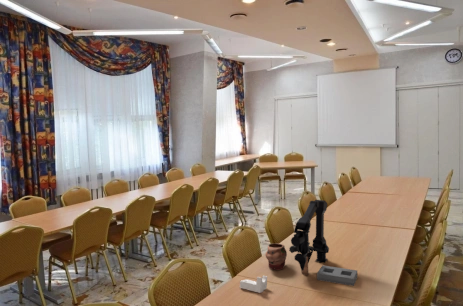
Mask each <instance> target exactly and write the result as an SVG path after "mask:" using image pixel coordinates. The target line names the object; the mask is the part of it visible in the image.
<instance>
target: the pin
mask: <svg viewBox="0 0 463 306" xmlns="http://www.w3.org/2000/svg"><path fill="white" fill-rule="evenodd" d="M300 271H301V275H303V276H306V275H309V263H308V257H307V261H306V264H305V267H304V270H301V269H300Z"/></svg>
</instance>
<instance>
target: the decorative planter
mask: <svg viewBox="0 0 463 306" xmlns="http://www.w3.org/2000/svg"><path fill="white" fill-rule="evenodd" d="M287 253H288V252H287V250H286V247H285V245H284V244H281V243H276V242H275V243H270V244H268V245H267V251H266V252H265V258H266V259H267V261H268V268H269V269H270V270H274V271H279V270H280V271H281V270H283V269H284V268H285V267H286V266H285V265H286V259H287V255H288V254H287Z"/></svg>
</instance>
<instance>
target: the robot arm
mask: <svg viewBox="0 0 463 306" xmlns="http://www.w3.org/2000/svg"><path fill="white" fill-rule="evenodd" d="M327 209H328V202H327V201H326V200H323V199H315V200H310V201H309V205H308V207H307V209H306V211H305V212H304V214H303V215H302V216H301V217H300V218H299V219H298V220H297V221H296V222H295V223H296V224H295V227H294V230H293V233H294V234H293V236H292V237H291V238H290V243H291V246H290V247H289V252H290V253H291V254H293V253H295V252H296V254H295V255H294V261H297V262H298V264H299V267H300V271H301V270H304V267H305V264H306V261H307V257H308V264H309V262H310V260H311V257H312V255H313V253H314V252H316V259H315V261H314V262H317V263H322V264H323V263H326V262H327V261H328V258H327V254H328V253H329V250H330V247H329V246H328V244H327V240H326V238H325V236H324V235H325V232H324V229H325V228H324V227H325V223H324V222H325V221H324V220H325V213H326V211H327ZM314 214H315V237H314V238H313V239H312V245H310V244H311V243H310V242H309V241H310V240H309V233H310V230H311V226H312V224H311V220H312V218H313V217H314Z"/></svg>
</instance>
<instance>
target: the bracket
mask: <svg viewBox="0 0 463 306" xmlns="http://www.w3.org/2000/svg"><path fill="white" fill-rule="evenodd" d="M267 287H268V276H267V275H262V277H260V276H256V281H255V280H251V279H248V278H247V279H242V280H240V281H239V288H240V289H244V290H248V291H251V292H255V293H259V294H260V293H264V291H265V290H267V289H268V288H267Z"/></svg>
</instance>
